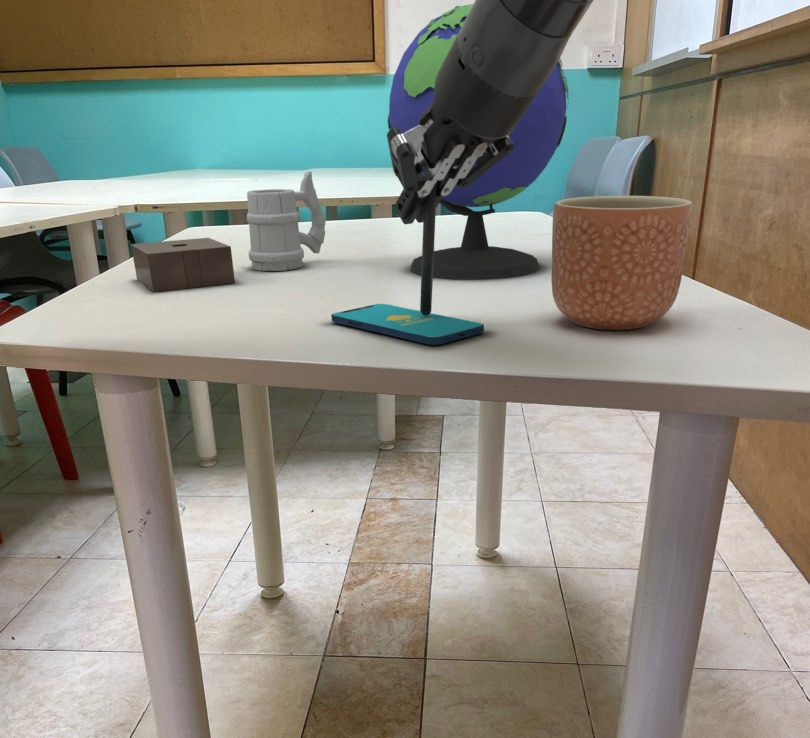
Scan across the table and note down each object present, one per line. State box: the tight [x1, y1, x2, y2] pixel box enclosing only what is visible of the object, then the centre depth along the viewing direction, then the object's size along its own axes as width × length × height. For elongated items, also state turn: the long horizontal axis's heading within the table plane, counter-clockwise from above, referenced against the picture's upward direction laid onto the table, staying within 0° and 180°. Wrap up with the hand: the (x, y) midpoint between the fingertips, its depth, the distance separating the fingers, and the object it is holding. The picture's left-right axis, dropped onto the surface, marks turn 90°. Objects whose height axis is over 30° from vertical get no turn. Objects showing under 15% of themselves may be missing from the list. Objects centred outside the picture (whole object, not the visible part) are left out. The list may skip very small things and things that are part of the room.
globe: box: [387, 3, 570, 280], centre depth 102 cm, size 22×22×30 cm
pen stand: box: [130, 237, 236, 293], centre depth 104 cm, size 10×10×4 cm
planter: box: [551, 195, 693, 331], centre depth 77 cm, size 12×12×11 cm
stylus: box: [419, 182, 437, 316], centre depth 76 cm, size 1×1×13 cm
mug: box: [246, 170, 327, 272], centre depth 112 cm, size 8×12×12 cm, turn 125°
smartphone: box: [330, 303, 485, 346], centre depth 79 cm, size 7×1×15 cm
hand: (409, 215), depth 77 cm, fingers closed on stylus, 1 cm apart
